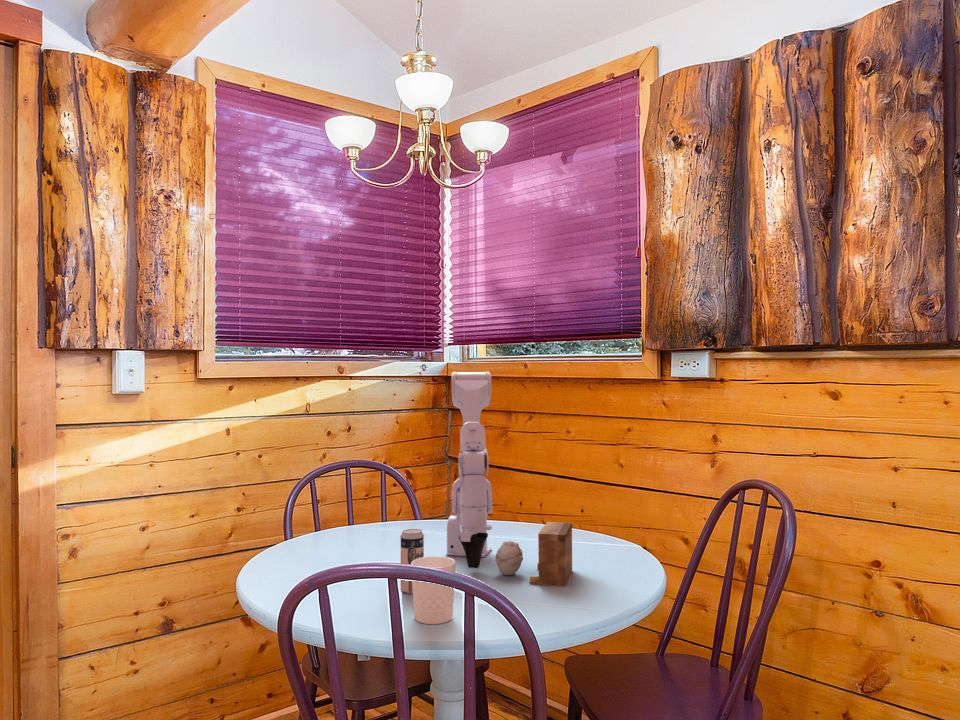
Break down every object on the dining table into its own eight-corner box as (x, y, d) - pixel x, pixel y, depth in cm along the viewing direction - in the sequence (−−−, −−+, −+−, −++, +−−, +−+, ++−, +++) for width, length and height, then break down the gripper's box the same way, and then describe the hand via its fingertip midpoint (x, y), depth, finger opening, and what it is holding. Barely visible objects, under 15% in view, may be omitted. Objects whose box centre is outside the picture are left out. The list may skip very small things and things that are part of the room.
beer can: (414, 596, 139) (414, 534, 140) (395, 592, 142) (395, 532, 142) (429, 589, 143) (428, 530, 144) (410, 586, 146) (410, 527, 146)
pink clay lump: (528, 572, 156) (527, 540, 156) (515, 580, 150) (515, 547, 150) (502, 568, 159) (502, 537, 159) (489, 576, 152) (489, 544, 152)
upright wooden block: (529, 584, 147) (528, 533, 147) (538, 568, 159) (538, 521, 159) (565, 586, 145) (565, 534, 145) (572, 570, 157) (571, 522, 157)
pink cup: (403, 622, 125) (403, 565, 125) (423, 608, 132) (422, 554, 132) (445, 628, 122) (444, 569, 122) (462, 613, 129) (462, 558, 129)
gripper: (483, 512, 148) (483, 577, 148) (498, 500, 162) (498, 559, 162) (450, 510, 150) (451, 575, 150) (468, 499, 164) (469, 558, 164)
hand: (473, 567), depth 156 cm, fingers closed
